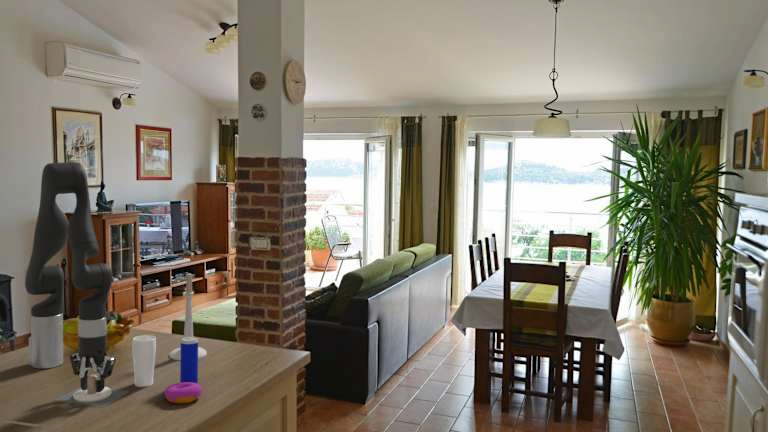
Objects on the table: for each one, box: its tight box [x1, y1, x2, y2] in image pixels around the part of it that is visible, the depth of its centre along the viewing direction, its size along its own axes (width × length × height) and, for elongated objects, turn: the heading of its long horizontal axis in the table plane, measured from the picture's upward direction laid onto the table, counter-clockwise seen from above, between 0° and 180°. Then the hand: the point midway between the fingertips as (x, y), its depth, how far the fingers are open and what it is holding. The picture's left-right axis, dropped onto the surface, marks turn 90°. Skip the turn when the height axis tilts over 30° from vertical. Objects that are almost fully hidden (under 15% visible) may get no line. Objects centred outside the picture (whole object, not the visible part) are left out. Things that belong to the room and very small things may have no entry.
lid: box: [73, 373, 112, 403], centre depth 174 cm, size 10×10×6 cm
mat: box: [53, 386, 130, 408], centre depth 174 cm, size 16×12×1 cm
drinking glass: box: [131, 334, 157, 388], centre depth 185 cm, size 7×7×15 cm
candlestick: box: [169, 273, 208, 362], centre depth 215 cm, size 13×13×30 cm
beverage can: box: [179, 336, 199, 384], centre depth 186 cm, size 5×5×15 cm
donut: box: [164, 382, 203, 404], centre depth 176 cm, size 10×10×5 cm
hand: (92, 390), depth 174 cm, fingers open, 4 cm apart
